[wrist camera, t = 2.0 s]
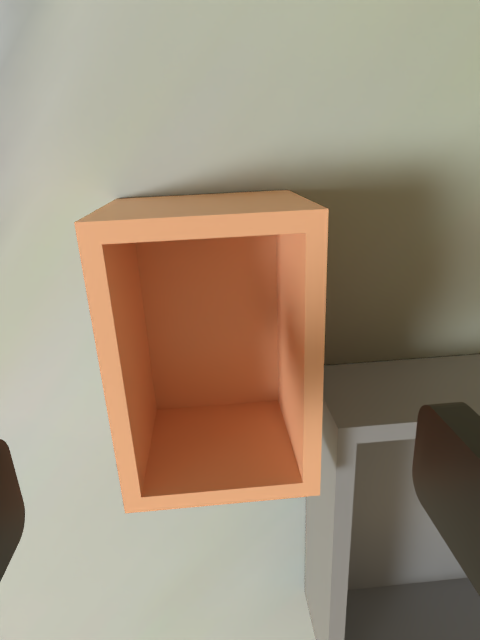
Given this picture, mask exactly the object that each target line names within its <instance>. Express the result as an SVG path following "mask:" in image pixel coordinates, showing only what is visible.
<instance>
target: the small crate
mask: <svg viewBox="0 0 480 640" xmlns="http://www.w3.org/2000/svg"><path fill="white" fill-rule="evenodd" d="M328 212H329V209H328V208H326V207H324V206H321V205H319V204H317V203H315V202H313V201H311V200H309V199H306V198H304V197H302V196H300V195H298V194H296V193H293V192H291V191H289V190H276V191H256V192H237V193H217V194H197V195H178V196H158V197H138V198H119V199H115V200H113V201H112V202H110V203H108V204H106V205H105V206H103V207H101V208H99V209H97V210H96V211H94V212H92V213H90V214H89V215H87V216H85V217H83V218H81V219H80V220H78V221H76V222H74V223H75V229H76V235H77V241H78V246H79V252H80V258H81V263H82V269H83V275H84V280H85V286H86V292H87V298H88V303H89V309H90V315H91V320H92V326H93V332H94V338H95V343H96V349H97V355H98V360H99V366H100V372H101V378H102V383H103V389H104V395H105V400H106V406H107V412H108V417H109V423H110V429H111V435H112V440H113V446H114V452H115V457H116V463H117V469H118V475H119V480H120V486H121V492H122V497H123V503H124V509H125V513H134V512H145V511H156V510H166V509H177V508H188V507H199V506H210V505H221V504H232V503H243V502H254V501H264V500H275V499H286V498H297V497H308V496H319V495H320V483H321V449H322V415H323V381H324V347H325V313H326V279H327V245H328Z"/></svg>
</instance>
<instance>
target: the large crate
mask: <svg viewBox="0 0 480 640" xmlns="http://www.w3.org/2000/svg"><path fill="white" fill-rule="evenodd" d="M452 402H464V403H466V404H467V405H468V406H470V407H471V408H472V409H473V410H474V411H475V412H476V413H477V414H478V415H479V416H480V354H473V355H459V356H446V357H432V358H419V359H406V360H392V361H379V362H365V363H352V364H339V365H325V366H324V381H323V415H322V449H321V483H320V495H319V496H308V497H306V534H305V595H306V600H307V604H308V608H309V613H310V617H311V621H312V626H313V630H314V634H315V639H316V640H480V596H479V594H478V593H477V591H476V590H475V588H474V587H473V585H472V583H471V582H470V580H469V579H468V577H467V576H466V574H465V572H464V571H463V569H462V568H461V566H460V565H459V563H458V561H457V560H456V558H455V557H454V555H453V554H452V552H451V550H450V549H449V547H448V546H447V544H446V543H445V541H444V539H443V538H442V536H441V535H440V533H439V532H438V530H437V528H436V527H435V525H434V524H433V522H432V521H431V519H430V517H429V516H428V514H427V513H426V511H425V510H424V508H423V506H422V505H421V503H420V501H419V499H418V497H417V495H416V492H415V489H414V484H413V478H412V465H413V456H414V446H415V437H416V428H417V418H418V413H419V410H420V408H421V407H422V406H423V405H428V404H440V403H452Z"/></svg>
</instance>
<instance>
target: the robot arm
mask: <svg viewBox="0 0 480 640" xmlns="http://www.w3.org/2000/svg"><path fill="white" fill-rule="evenodd" d="M412 478H413V484H414V489H415V492H416V495H417V497H418V499H419V501H420V503H421V505H422V506H423V508H424V510H425V511H426V513H427V514H428V516H429V517H430V519H431V521H432V522H433V524H434V525H435V527H436V528H437V530H438V532H439V533H440V535H441V536H442V538H443V539H444V541H445V543H446V544H447V546H448V547H449V549H450V550H451V552H452V554H453V555H454V557H455V558H456V560H457V561H458V563H459V565H460V566H461V568H462V569H463V571H464V572H465V574H466V576H467V577H468V579H469V580H470V582H471V583H472V585H473V587H474V588H475V590H476V591H477V593H478V594H479V596H480V416H479V415H478V414H477V413H476V412H475V411H474V410H473V409H472V408H471V407H470V406H468V405H467V404H466V403H464V402H452V403H440V404H428V405H423V406H422V407H421V408H420V410H419V413H418V418H417V428H416V437H415V446H414V456H413V465H412ZM24 521H25V508H24V502H23V499H22V495H21V491H20V487H19V484H18V480H17V476H16V472H15V469H14V465H13V461H12V458H11V454H10V450H9V447H8V445H7V444H6V442H5V441H3V440H1V439H0V581H1V579H2V577H3V575H4V573H5V571H6V568H7V566H8V564H9V562H10V560H11V558H12V556H13V554H14V552H15V550H16V548H17V545H18V543H19V541H20V539H21V536H22V532H23V528H24Z"/></svg>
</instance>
